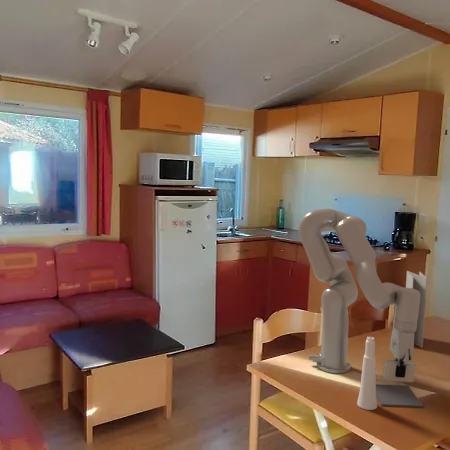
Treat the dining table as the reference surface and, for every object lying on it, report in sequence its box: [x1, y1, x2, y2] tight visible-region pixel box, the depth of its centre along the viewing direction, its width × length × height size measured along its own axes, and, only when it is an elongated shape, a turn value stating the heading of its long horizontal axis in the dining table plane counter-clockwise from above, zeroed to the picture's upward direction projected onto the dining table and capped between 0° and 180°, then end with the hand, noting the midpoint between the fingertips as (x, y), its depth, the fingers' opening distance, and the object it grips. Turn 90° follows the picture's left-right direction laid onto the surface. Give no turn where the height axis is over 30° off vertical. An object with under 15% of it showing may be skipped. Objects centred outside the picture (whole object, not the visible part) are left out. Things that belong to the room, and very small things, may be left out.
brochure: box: [405, 270, 428, 349], centre depth 201 cm, size 14×6×30 cm, turn 168°
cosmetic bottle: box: [356, 336, 378, 411], centre depth 144 cm, size 6×6×22 cm
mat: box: [376, 383, 425, 408], centre depth 152 cm, size 13×14×1 cm
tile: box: [382, 359, 416, 383], centre depth 160 cm, size 10×2×6 cm, turn 88°
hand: (398, 374), depth 160 cm, fingers closed on tile, 1 cm apart
